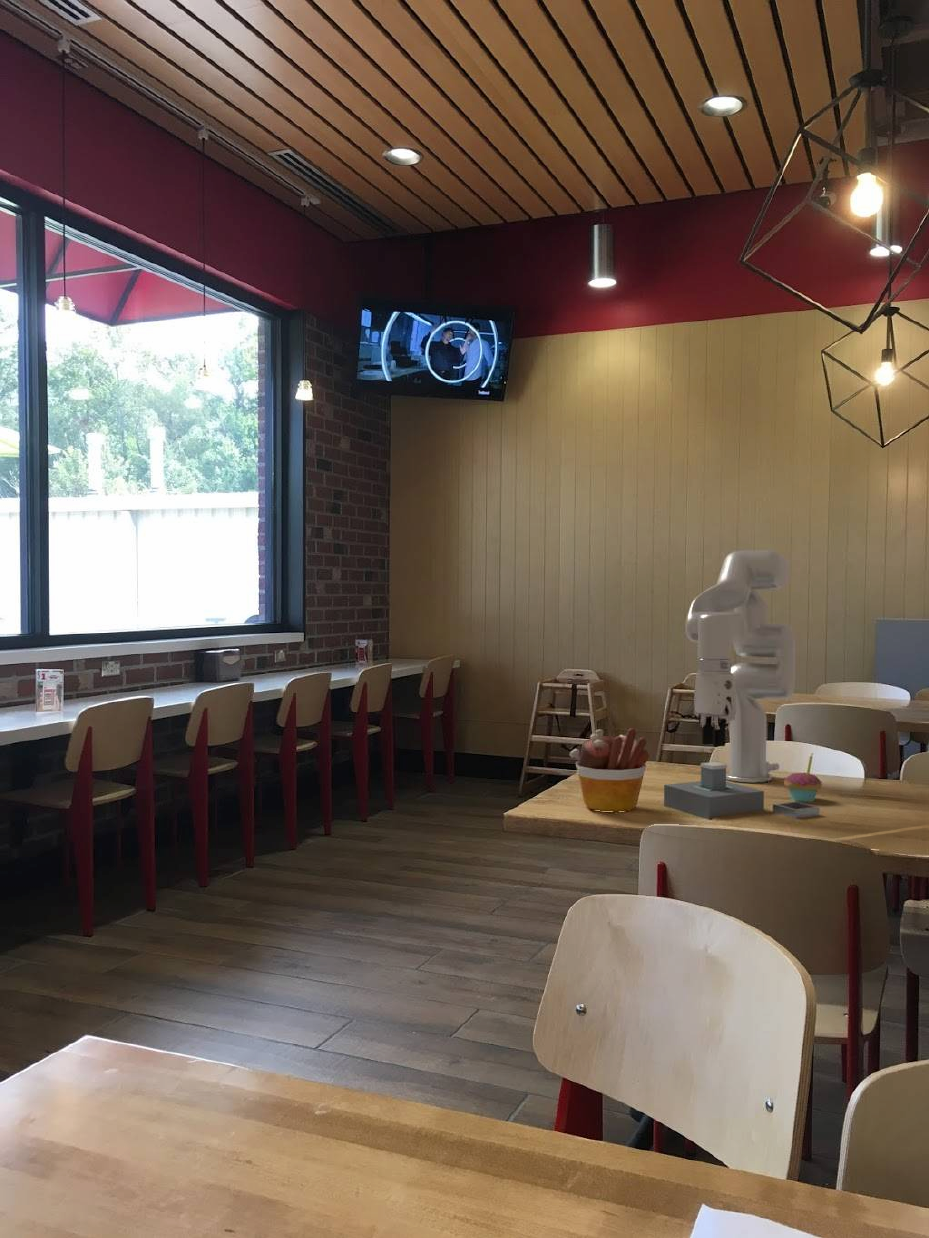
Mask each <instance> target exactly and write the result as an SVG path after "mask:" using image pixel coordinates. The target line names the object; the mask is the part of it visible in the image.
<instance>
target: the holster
mask: <svg viewBox="0 0 929 1238" xmlns="http://www.w3.org/2000/svg"><path fill="white" fill-rule="evenodd" d="M772 813H774V814H778V815H782V816H785V817H789V818H792V819H802V818H811V817H812V818H813V817H819V816H820V815H821V812H820V806H816V805H812V804H807V803H805V802H801V801H790V802H781V803H773V804H772Z"/></svg>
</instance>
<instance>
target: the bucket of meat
mask: <svg viewBox="0 0 929 1238" xmlns="http://www.w3.org/2000/svg"><path fill="white" fill-rule="evenodd" d="M603 734H604V730H603V729H600V728H599V729H596V730H595V733H592V734H590V735H589V736H590V737H589V739H586V740H585V741H584V742H583V743H582V746H581V750H579V749H577V748H574V749H573V750H571V751H570V752H569V756H570V758H571V759H573V758H574V759H576V760H577V761H576V762H575V767H576V770H577V774H578V780H579V785H580V789H581V793H582V798H583V802H584V804H585V805H586V807H587V808H588V810H590V809H593V810H600V811H613V812H619V811H629V810H630V811H632V810H633V809H634V808H635V807H636V806H637V804H638V801H639V797H640V792H641V788H642V783H643V781H644V777H645V771H646V769H647V764H646V763H647V761H648V759H649V758H650V754H649V752H648V751H647V749H645V747H646V745H647V739H646V738H645V737H640V738H639V739H638V740H636V736H637V732H636V728H633V727H630V728H629V729H628V730H627V733H626V735H623V734H619V736H615V737H614V736H612V735H603ZM631 809H632V810H631ZM593 810H592V811H593ZM630 811H629V812H630Z"/></svg>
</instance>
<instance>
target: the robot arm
mask: <svg viewBox="0 0 929 1238" xmlns="http://www.w3.org/2000/svg"><path fill="white" fill-rule="evenodd" d="M790 573H791V571H790V566H789V564H788V561H787V560H786V558H785V557H784V556H782V555H781V553H779V552H777V551H774V550H769V549H764V550H763V549H762V550H761V549H760V550H759V549H756V550H754V549H753V550H750V549H748V550H745V549H744V550H735V551H732V552H730V553H729V554H728V555H726V557H724V560H723V563H722V567H721V569H720V571H719V575H718V578H717V581H716V584H714V585H712V586H711V587H709V588H707V589H705V591H702V592H701V593H700V594H698V595H697V596H696V597H695V598H694V600H692V601H691V604H690V606H689V609H688V612H687V615H686V618H685V619H686V620H685V623H684V624H685V625H684V628H685V629H684V632H685V636H686V638H688V640H689V641H690V642H693V643H697V672H696V676H695V682H694V683H695V684H694V695H693V697H694V698H693V700H694V702H693V703H694V704H693V705H694V710H693V714H694V715H695V716H696V717H697V718H698V721H699V722H700V723H699V724H700V727H701V729H702V730H701V732H702V734H701V738H702V739H701V743H702V745H712V746H713V747H714V748H715V747H716V748H718V747H725V746H726V730H727V729H728V726H729V770H728V771H726V780H728V781H733V782H737V783H740V782H741V783H751V784H752V783H753V784H756V783H757V784H758V782H759V783H767V782H766V781H768V782H770V780H771V781H772V780H773V775H771V774H770V772H771V771H779V770H780V765H779V763H778V762H774V763H770V762H769V761H767V721H768V720H767V714H766V711H765V709H764V707H763V706H762V705H761V704H760V702H759V701H758V700H759V699H760V700H761V699H767V700H787V699H788V700H789V699H790V698H791V697H792V696H793V695H794V692H795V684H796V682H795V681H796V636H795V632H794V629H793V628H792V626H791V625H789V624H787V623H780V622H779V623H778V622H768V621H767V615H768V614H767V609H768V606H767V603H766V602H767V601H766V600H765V599H764V598H763V596H762V595H761V594H760V593H759V592H758V590H759V591H760V590H761V591H763V590H764V591H766V590H767V591H768V590H769V591H770V590H773V591H775V590H782V589H784V588H786V586H788V584H789V581H790V575H791V574H790ZM731 610H733V611H734V612H733V611H731ZM732 644H733V649H734V652H735V654H736V655H738V656H740V657H742V658H753V659H774V660H775V661H776V662H777V663H767V662H765V663H764V662H763V663H762V662H737V663H734V664H733V665H732ZM713 724H714V726H713Z"/></svg>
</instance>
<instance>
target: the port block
mask: <svg viewBox="0 0 929 1238" xmlns="http://www.w3.org/2000/svg"><path fill="white" fill-rule="evenodd" d="M663 787H664V788H663V789H664V791H663V796H664V797H663V806H664V807H667V808H670V809H674V810H677V811H679V810H680V812H683V813H687V814H690V815H693V816H696V817H699V818H703V819H706V820H714V818H713V817H720V816H729V815H737V814H746V813H753V812H761V811H762V812H763V811H764V810H765V809H764V808H765V805H764V804H765V797H764V796H765V791H764V790H761V789H756V788H752V787H749V786H744V785H740V784H736V783H733V782H729V781H726V790H717V791H711V790H709V789H705V788H701V780H699V781H689V782H681V783H669V784H664V785H663Z"/></svg>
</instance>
